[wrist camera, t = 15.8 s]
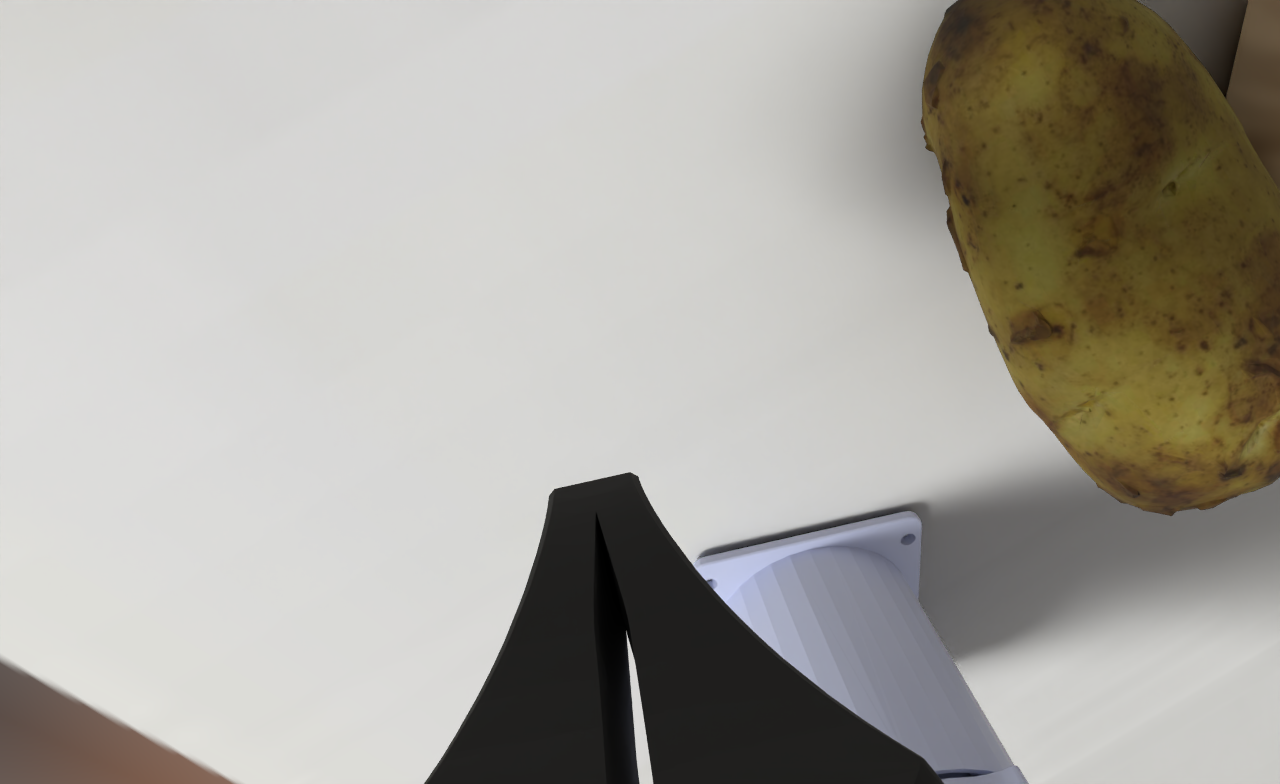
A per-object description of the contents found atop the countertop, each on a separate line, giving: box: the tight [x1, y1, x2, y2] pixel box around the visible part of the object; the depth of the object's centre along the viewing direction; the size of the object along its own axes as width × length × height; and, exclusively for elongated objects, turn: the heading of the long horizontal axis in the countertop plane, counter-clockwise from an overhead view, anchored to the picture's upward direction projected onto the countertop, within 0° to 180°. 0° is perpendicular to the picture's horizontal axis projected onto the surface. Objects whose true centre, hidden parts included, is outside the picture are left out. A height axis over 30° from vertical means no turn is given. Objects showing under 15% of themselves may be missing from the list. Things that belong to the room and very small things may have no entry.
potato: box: [921, 0, 1280, 516], centre depth 19 cm, size 8×13×8 cm, turn 15°
